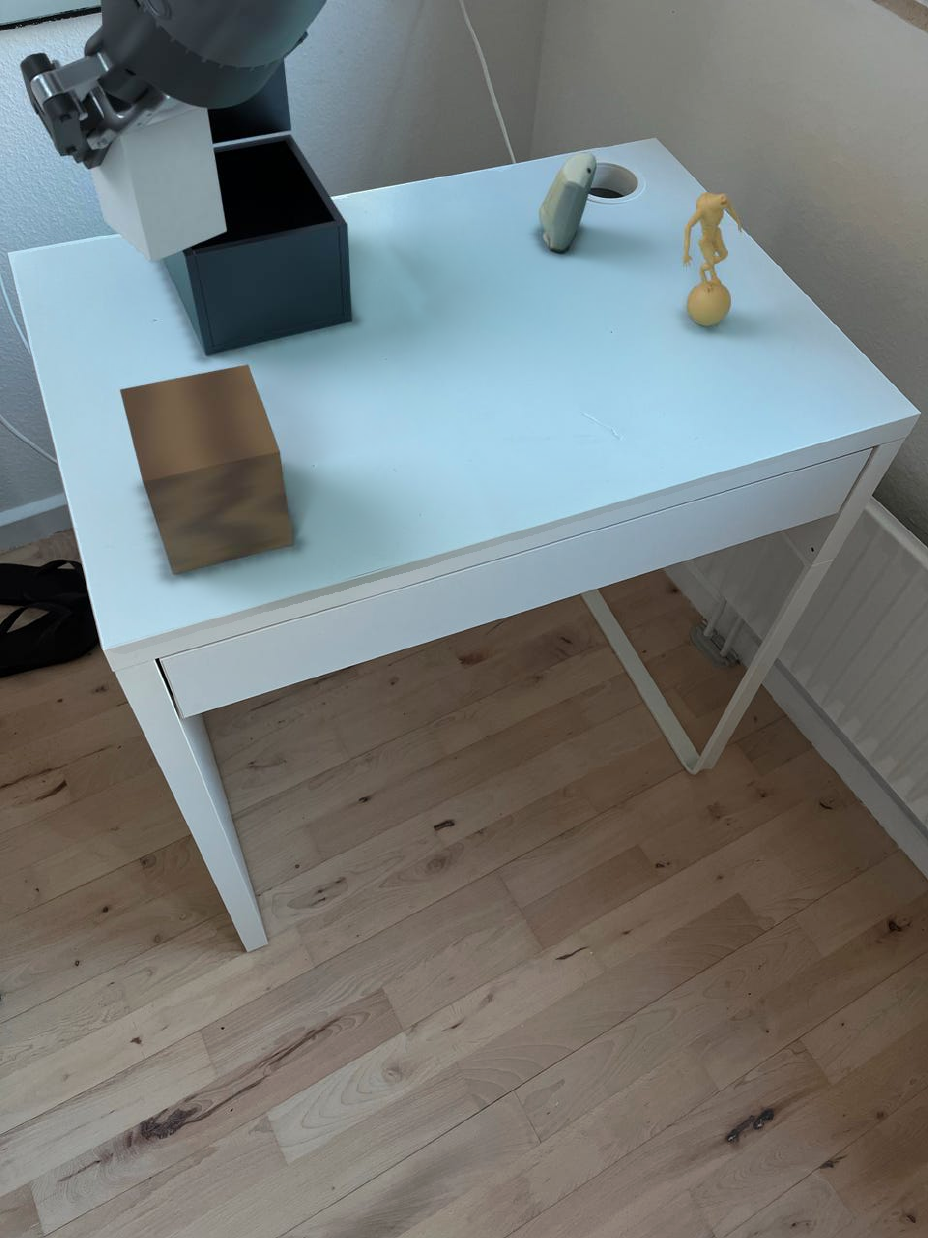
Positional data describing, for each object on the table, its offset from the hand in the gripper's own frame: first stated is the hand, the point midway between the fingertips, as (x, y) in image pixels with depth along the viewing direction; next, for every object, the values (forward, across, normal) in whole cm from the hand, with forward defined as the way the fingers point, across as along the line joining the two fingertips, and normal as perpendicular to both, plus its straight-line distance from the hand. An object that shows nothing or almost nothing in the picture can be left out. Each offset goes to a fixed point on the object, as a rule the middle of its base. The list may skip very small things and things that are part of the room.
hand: (129, 132), depth 51 cm
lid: (+24, -19, -10) cm, 32 cm away
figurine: (+12, -47, +27) cm, 56 cm away
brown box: (+17, +1, +22) cm, 28 cm away
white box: (+2, 0, +5) cm, 5 cm away
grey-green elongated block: (+24, -45, +16) cm, 54 cm away
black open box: (+32, -17, +7) cm, 37 cm away
